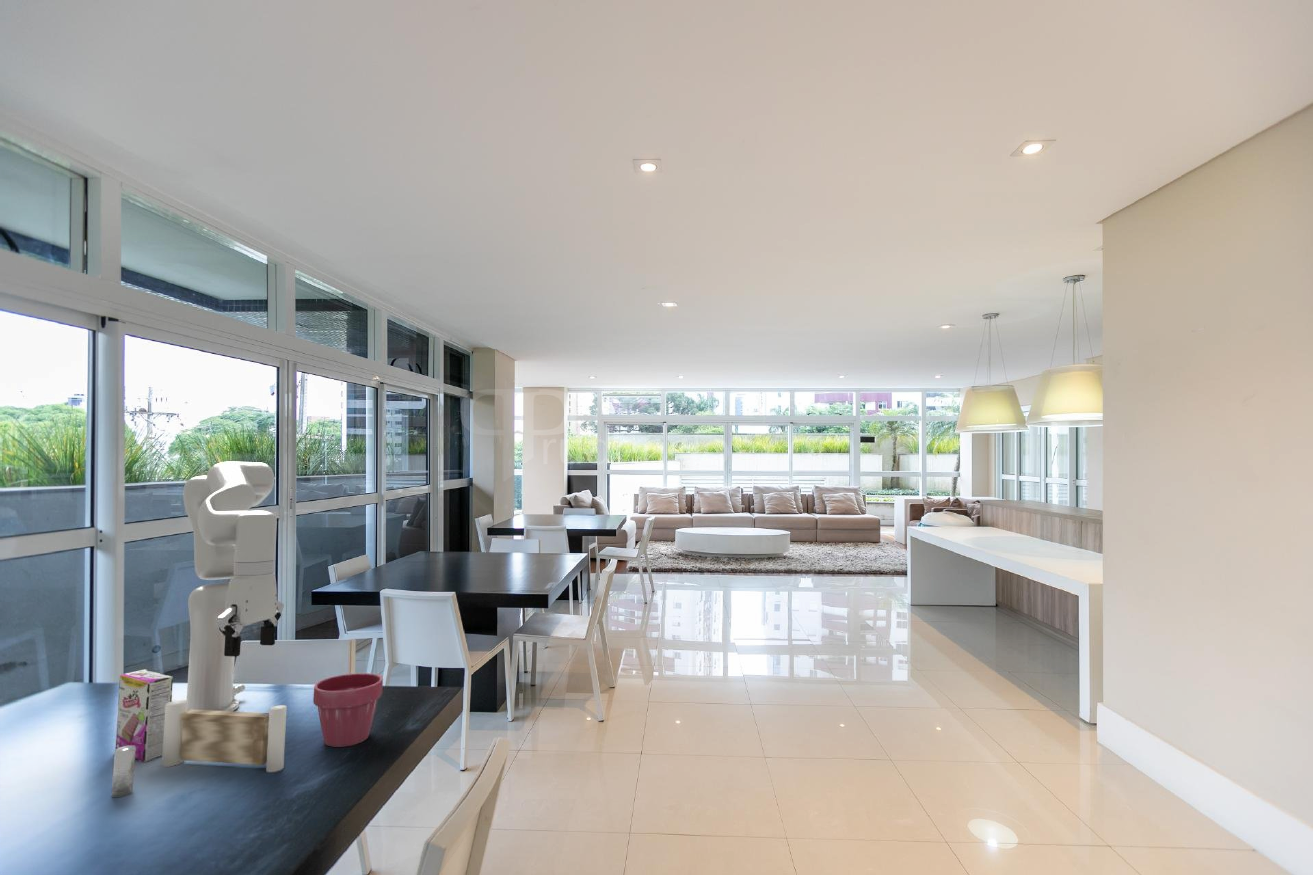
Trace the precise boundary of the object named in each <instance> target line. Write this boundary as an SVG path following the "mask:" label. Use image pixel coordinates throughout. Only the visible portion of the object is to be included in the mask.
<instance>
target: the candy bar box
mask: <svg viewBox="0 0 1313 875" xmlns="http://www.w3.org/2000/svg"><path fill="white" fill-rule="evenodd" d="M173 680H174V676H173V675H172V676H171V675H167V674H164V673H159V672H156V671H153V670H148V669H145V668H144V669H140V670H135V671H130V672H126V673H123V674H120V675H119V686H118V687H119V688H118V703H117V723H116V733H115V734H116V736H115V750H116V749H118V748H120V747H124V746H130V745H133V746H136V750H135V761H136V760H137V761H139V762H142V763H146V762H150V761H153V760H155V759H159V758H162V751H163V736H164V721H165V706H166V703H168V702H171V701H173V684H174V682H173ZM115 750H114V751H115Z"/></svg>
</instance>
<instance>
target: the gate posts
mask: <svg viewBox="0 0 1313 875" xmlns="http://www.w3.org/2000/svg"><path fill="white" fill-rule="evenodd" d="M186 711H187V699H177V700H172V701H171V702H168V703H166V706H165V721H164V736H163V751H162V757H161V766H162V767H164V768H165V767H166V768H167V767H174V766H177V765H180V764H181V763H183V762H184V760H180V758H181V743H182V727H183V720H182V713H184V712H186ZM287 711H288V710H287V705H275V706H272V707H270V708H269V728H268V746H267V763H266V766H265V767H266V768H265V771H266V772H267V773H276V772H279V771H282V770H283V769H284V767H285V766H284V763H285V744H286V743H285V742H286V724H287Z"/></svg>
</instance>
